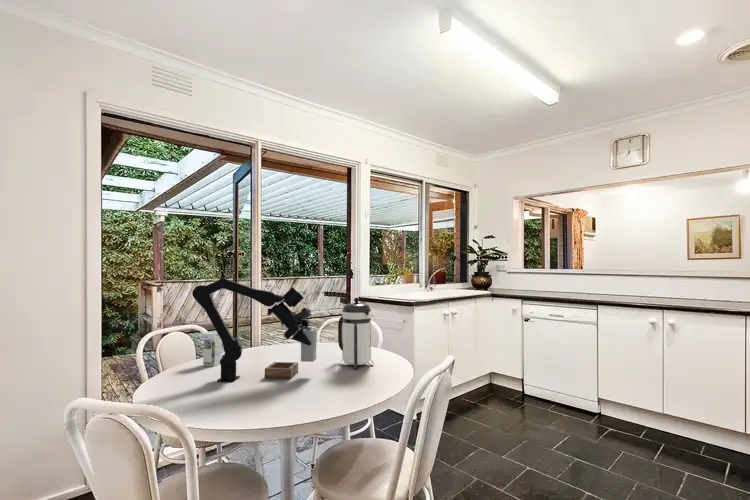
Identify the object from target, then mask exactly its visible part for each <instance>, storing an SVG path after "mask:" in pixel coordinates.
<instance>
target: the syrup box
mask: <svg viewBox="0 0 750 500" xmlns="http://www.w3.org/2000/svg"><path fill="white" fill-rule="evenodd" d="M222 350H223V344H222V340H221V339H220V337H219V335H218V333H217V331H207V332H205V333H204V332H203V358H202V366H203V367H204V366H205V367H215V366H218V365H221V364H220V360H221V358H222V356H223V353H222V352H223V351H222Z"/></svg>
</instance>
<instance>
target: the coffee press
mask: <svg viewBox="0 0 750 500" xmlns="http://www.w3.org/2000/svg"><path fill="white" fill-rule="evenodd" d="M353 301H354V302H352V303H350V302H349V303H346V304H345V305H344V306H343V308H342V310H341V312H342V316H341V317H340V318H339V320H338V323H337V324H338V325H337V335H338V336H337V341H338V347H339V348H340V350H341V351H342V359H341V360H340V363H339V366H341V367H343V366H344V365H345V364H347V365H351V366H353V370H357V371H358V366H363V365H366V364H368V365H369V366H371V365H374V363H375V362H374V361H373V360H372V346H371V345H372V338H371V337H372V335H371V334H372V331H371V329H372V328H371V327H372V325H371V321H372V320H371V318H372V317H371V312H372V309H371V307H370V306H369V304H367V303H365V302H364V303H363V302H360V299H359V297H355V298H354V299H353ZM370 361H371V363H372V364H371V363H370ZM342 362H343V364H342Z"/></svg>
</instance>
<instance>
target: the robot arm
mask: <svg viewBox="0 0 750 500" xmlns="http://www.w3.org/2000/svg"><path fill="white" fill-rule="evenodd" d="M222 289H223V290H227V291H230V292H233V293H235V294H239V295H242V296H245V297H248V298H251V299H253V300H254V301H256V302H258V303H259V304H261V305H263V306H265V307H269V308H267V316H271V315H274V316H275V318H277V319H278V320H279V321H280V324H281V326H283V325H284V327H286V329H287V330H285V331H284V333H283V334H284V335H283V336H284V338H285V339H286V340H287V341H288V340H293V341H296V342H297V343H298V342H299V343H300V344H301V343H304V344H306V345H309V346H310V345H311V342H310V341H309V339H308V338H307V337H306V335H305V334H304V329H306V328H307V327H310V323H311V321H310V320H309V319H308V318H309V317H311V316H312V313H311V312H312V310H311V309H310V308H309V307H308V308H307V307H303V308H301V311H300V312H295V311H292V310H290V308H295V307H296V306H297V305H299V304H300V303H301V302H302V301H303V300H304V299H305V298H304V296H303V295H302V294H301V293H300V292H299V291H297V290H296V289H295V288H294V287H293V286H292V287H290V288H289V289H288V290H287V292H285V294H283V295H281V294H280V295H279V294H275V292H273V291H270V290H265V289H257V288H253V287H251V286H248V285H244V284H242V283H238V282H235V281H234V280H230V279H228V278H226V277H222V278H219V279H218V280H216V281H214V282H211V283H208V284H200V285H197V286H196V287H194V288H193V290H192V297H193V298H194V300H195V301H196V303H198V305H199V306H201V308H202V309H203V310H204V311H205V313H206V316H208V318H209V320H210V322H211V324H212V325H213V328H214V329H215V332H217V333H218V335H219V337H220V339H221V340H222V349H223V351H224V354H222V358H221V360H220V364H219V365H220V377H219V378H218V379H217V380H216V382H219V383H220V382H225V383H232V382H235V381H236V380H238V379H239V378H240V377H241V376H240V375H237V361H238V360H239V359H240V358H241V357H242V353H243V346H244V345H243V343H242V342H241V341H240V338H239V336H237V337H236V338H235V337H234V336H233V335H232V334H231V332H230V330H229V328H228V326H227V325H226V322H225V320H224V319H223V317H222V316H221V313H220V312H219V310H218V308H217V307H216V304H215V300H214V296H213V293H216V292H218V291H220V290H222ZM277 303H278V304H277ZM270 307H271V308H270Z"/></svg>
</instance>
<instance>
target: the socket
mask: <svg viewBox="0 0 750 500" xmlns="http://www.w3.org/2000/svg"><path fill="white" fill-rule="evenodd" d="M298 373H299V362H293V361H290V362H289V361H285V362H284V361H281V362H280V361H274V362H272V363H270V364H269V365H267V366H266V367H265V368H264V380H292V379H293V378H294V377H295V376H296V375H297V374H298Z"/></svg>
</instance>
